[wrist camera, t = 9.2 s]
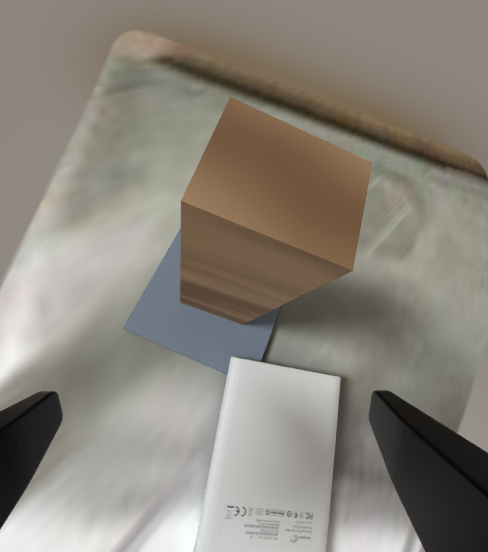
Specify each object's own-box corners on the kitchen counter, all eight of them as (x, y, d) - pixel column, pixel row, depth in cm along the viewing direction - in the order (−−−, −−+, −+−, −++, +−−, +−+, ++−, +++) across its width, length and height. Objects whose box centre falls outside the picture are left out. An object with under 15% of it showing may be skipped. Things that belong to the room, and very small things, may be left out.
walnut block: (242, 324, 21) (352, 270, 7) (180, 302, 20) (181, 200, 7) (257, 278, 22) (372, 162, 9) (199, 255, 21) (230, 96, 8)
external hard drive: (331, 374, 21) (313, 572, 18) (229, 355, 20) (189, 565, 16) (343, 377, 19) (326, 594, 16) (233, 356, 18) (190, 589, 15)
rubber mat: (250, 384, 20) (252, 385, 19) (124, 329, 19) (122, 328, 19) (296, 260, 24) (298, 258, 23) (192, 209, 23) (193, 206, 22)
